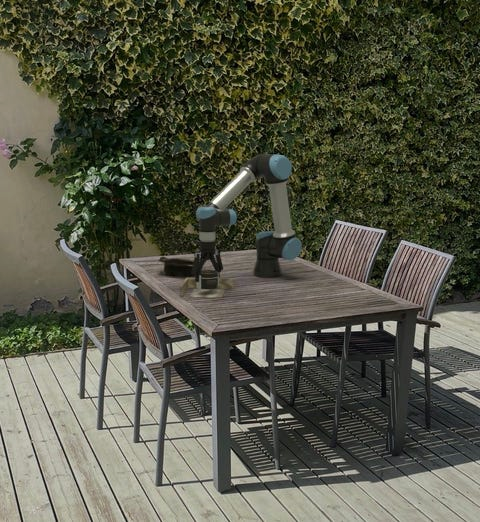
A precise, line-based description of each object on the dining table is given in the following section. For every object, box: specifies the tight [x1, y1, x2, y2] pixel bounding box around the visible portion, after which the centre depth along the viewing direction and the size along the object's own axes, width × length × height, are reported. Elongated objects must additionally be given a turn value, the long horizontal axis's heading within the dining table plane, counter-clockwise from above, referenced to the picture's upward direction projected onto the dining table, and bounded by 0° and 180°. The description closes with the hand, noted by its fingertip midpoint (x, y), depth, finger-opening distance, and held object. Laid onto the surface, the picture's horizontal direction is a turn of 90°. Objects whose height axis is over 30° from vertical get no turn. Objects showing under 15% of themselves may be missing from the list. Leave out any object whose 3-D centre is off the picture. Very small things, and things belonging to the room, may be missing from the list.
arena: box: [179, 277, 234, 299], centre depth 353 cm, size 23×20×5 cm
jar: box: [200, 269, 218, 290], centre depth 350 cm, size 10×10×8 cm
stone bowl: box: [158, 256, 206, 278], centre depth 394 cm, size 25×25×9 cm
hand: (207, 286), depth 351 cm, fingers closed on jar, 10 cm apart
